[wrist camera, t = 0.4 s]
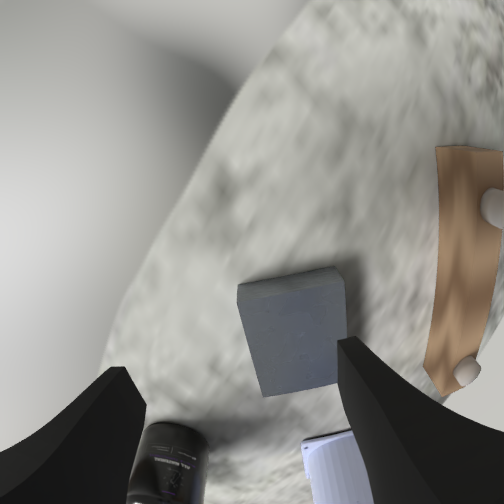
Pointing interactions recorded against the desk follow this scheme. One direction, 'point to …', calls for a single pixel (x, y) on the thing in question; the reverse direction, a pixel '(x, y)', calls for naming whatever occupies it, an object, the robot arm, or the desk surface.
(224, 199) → the desk surface
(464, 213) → the block
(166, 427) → the supplement bottle
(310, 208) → the desk surface
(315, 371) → the steel plate
